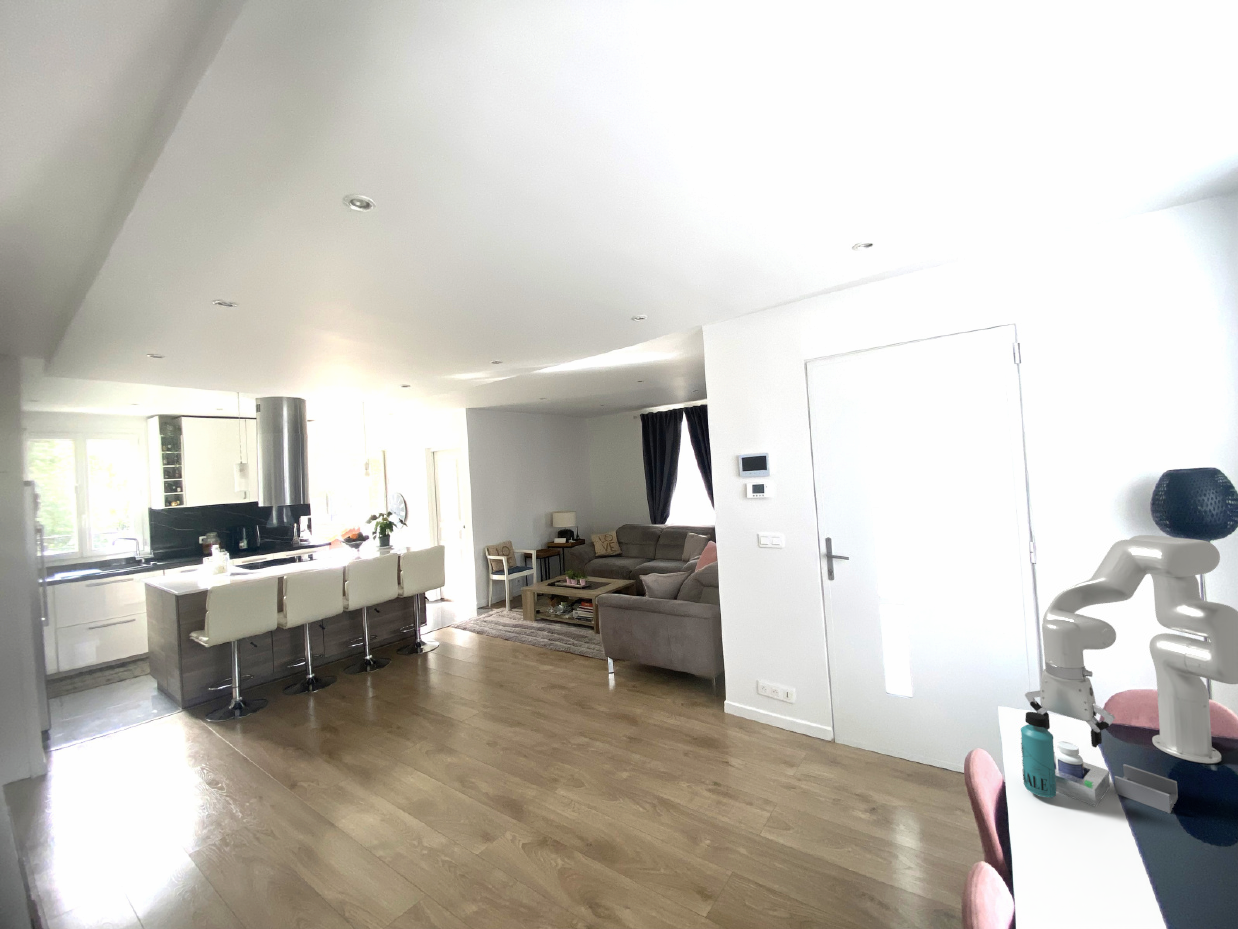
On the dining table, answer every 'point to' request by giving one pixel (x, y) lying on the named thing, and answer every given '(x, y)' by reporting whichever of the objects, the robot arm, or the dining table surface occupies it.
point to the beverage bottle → (1038, 756)
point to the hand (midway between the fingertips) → (1070, 737)
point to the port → (1084, 784)
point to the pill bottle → (1069, 760)
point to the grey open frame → (1147, 788)
